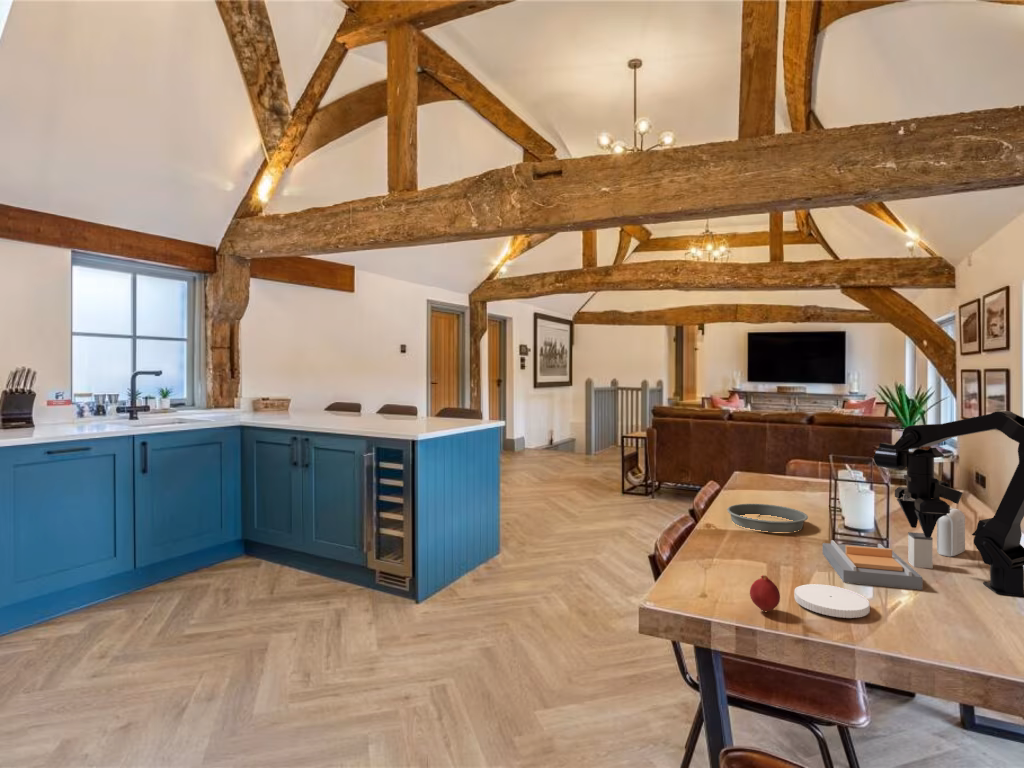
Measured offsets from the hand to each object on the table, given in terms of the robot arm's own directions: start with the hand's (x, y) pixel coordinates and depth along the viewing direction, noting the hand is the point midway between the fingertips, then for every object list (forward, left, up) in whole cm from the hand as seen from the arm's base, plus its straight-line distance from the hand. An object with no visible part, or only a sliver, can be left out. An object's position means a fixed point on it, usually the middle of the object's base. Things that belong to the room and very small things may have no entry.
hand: (920, 532), depth 140 cm
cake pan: (+31, +33, -9) cm, 46 cm away
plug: (0, 0, -9) cm, 9 cm away
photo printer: (+14, -12, -9) cm, 20 cm away
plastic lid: (-35, +28, -9) cm, 46 cm away
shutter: (-12, +14, -6) cm, 19 cm away
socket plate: (-8, +14, -9) cm, 18 cm away
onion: (-42, +42, -9) cm, 60 cm away
